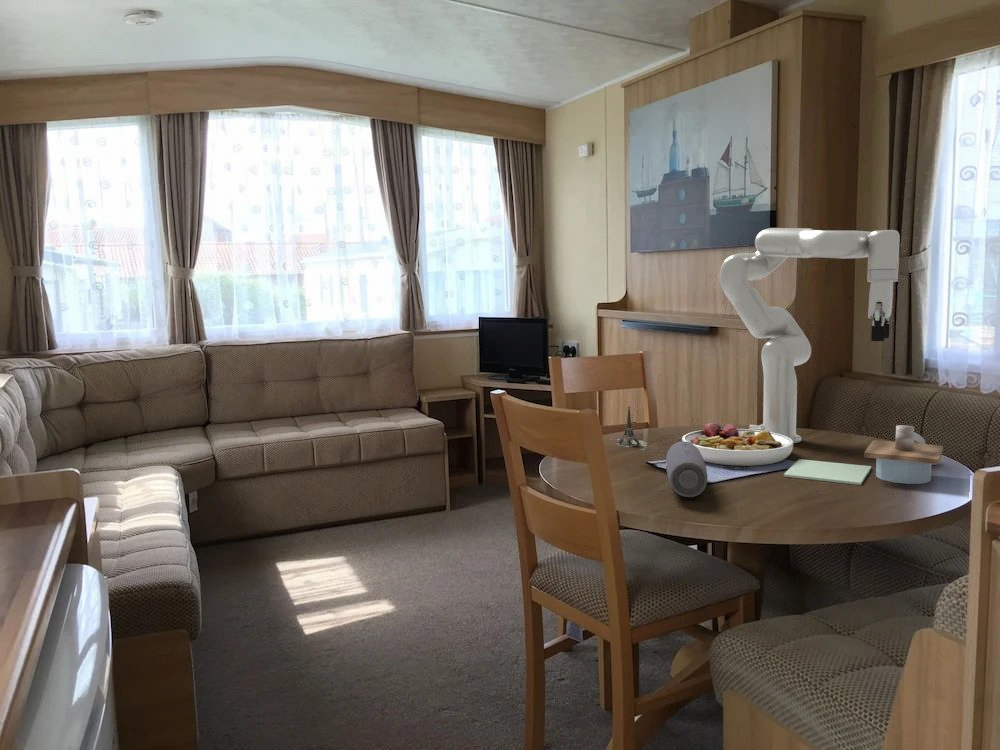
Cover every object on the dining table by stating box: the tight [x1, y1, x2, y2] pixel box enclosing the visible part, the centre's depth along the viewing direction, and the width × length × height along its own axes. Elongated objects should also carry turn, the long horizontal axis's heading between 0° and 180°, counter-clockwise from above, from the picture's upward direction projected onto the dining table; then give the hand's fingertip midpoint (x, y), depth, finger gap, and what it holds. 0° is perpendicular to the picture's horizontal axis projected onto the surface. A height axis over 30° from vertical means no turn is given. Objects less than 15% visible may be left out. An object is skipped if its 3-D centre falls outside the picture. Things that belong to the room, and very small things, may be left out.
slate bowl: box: [875, 458, 933, 485], centre depth 198 cm, size 12×12×6 cm
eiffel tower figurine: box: [616, 405, 648, 451], centre depth 242 cm, size 15×10×13 cm
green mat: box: [783, 458, 872, 486], centre depth 205 cm, size 18×18×1 cm
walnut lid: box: [863, 424, 944, 465], centre depth 197 cm, size 16×16×7 cm
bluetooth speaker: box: [665, 440, 708, 498], centre depth 193 cm, size 23×9×10 cm, turn 170°
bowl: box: [681, 421, 794, 467], centre depth 226 cm, size 30×30×8 cm
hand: (880, 339), depth 218 cm, fingers open, 9 cm apart
